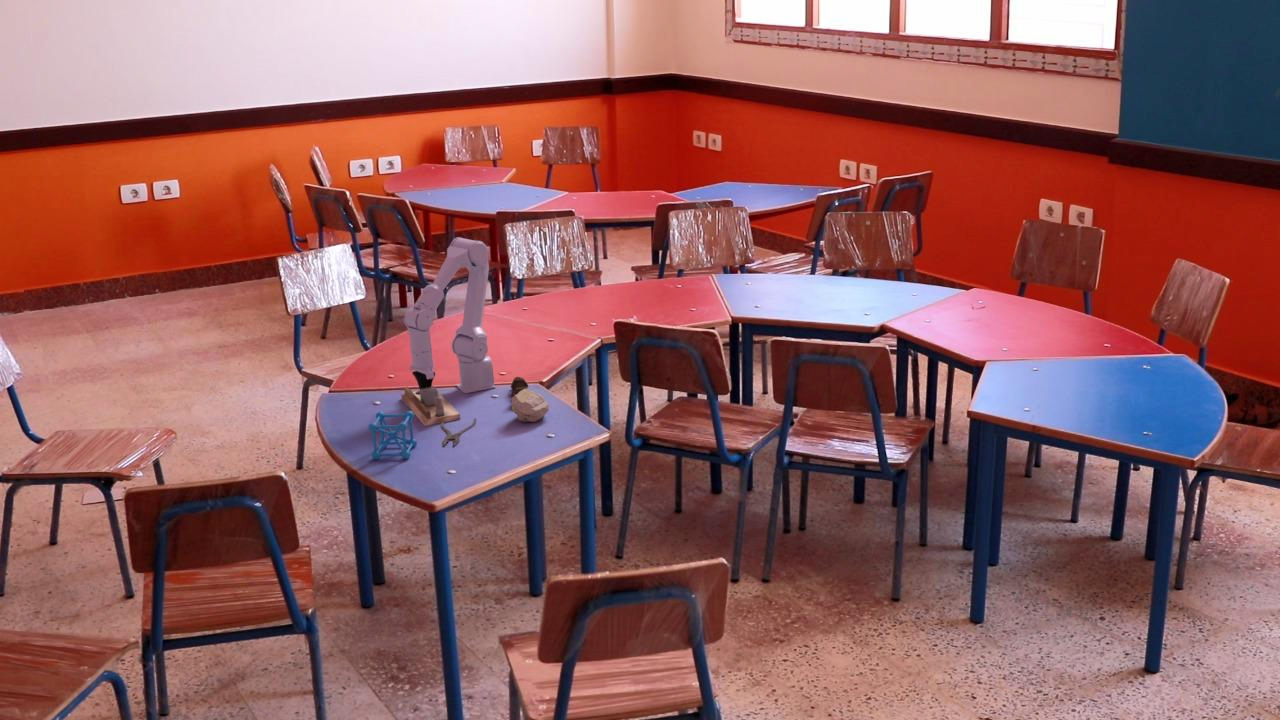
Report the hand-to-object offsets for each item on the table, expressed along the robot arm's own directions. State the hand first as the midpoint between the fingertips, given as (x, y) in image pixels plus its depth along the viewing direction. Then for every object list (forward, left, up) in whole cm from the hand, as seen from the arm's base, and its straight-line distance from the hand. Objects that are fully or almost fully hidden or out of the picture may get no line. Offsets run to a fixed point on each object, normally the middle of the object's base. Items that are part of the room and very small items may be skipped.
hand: (426, 395), depth 347 cm
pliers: (-2, +24, -3) cm, 25 cm away
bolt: (-26, +7, -3) cm, 27 cm away
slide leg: (0, +3, -1) cm, 4 cm away
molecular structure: (+17, +29, -3) cm, 34 cm away
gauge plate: (0, +3, -3) cm, 4 cm away
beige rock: (-22, +25, -3) cm, 34 cm away
